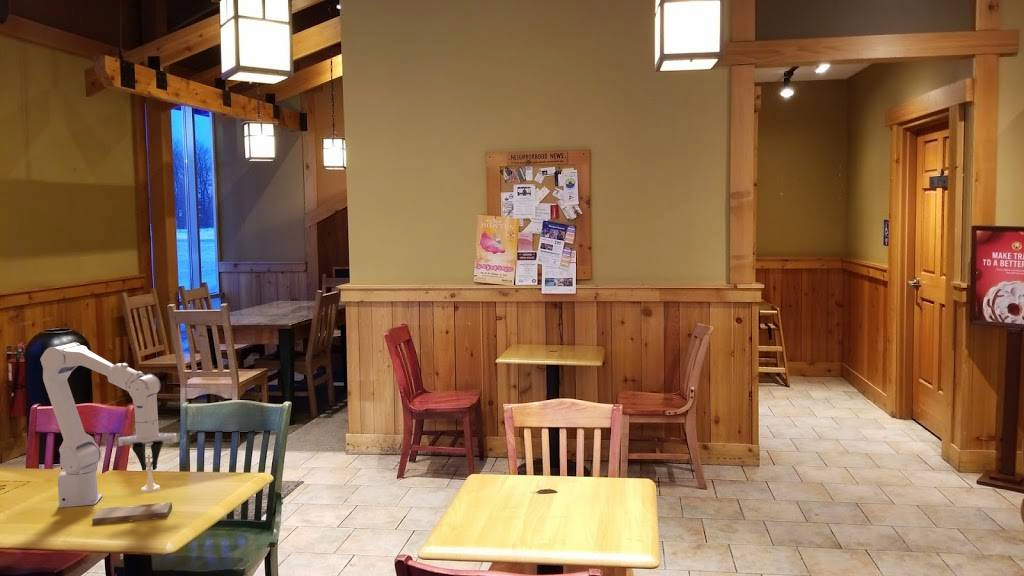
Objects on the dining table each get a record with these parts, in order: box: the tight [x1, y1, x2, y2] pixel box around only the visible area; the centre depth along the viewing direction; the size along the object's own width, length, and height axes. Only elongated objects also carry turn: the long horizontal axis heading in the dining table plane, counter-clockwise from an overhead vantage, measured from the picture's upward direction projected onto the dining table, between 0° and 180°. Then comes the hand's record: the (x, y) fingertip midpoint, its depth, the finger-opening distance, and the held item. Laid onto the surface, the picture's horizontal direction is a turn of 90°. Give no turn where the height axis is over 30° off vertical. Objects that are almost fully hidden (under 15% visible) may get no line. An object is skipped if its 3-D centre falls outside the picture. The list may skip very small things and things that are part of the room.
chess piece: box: [140, 453, 161, 494], centre depth 235 cm, size 5×5×10 cm
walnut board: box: [91, 501, 173, 525], centre depth 228 cm, size 18×8×2 cm, turn 102°
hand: (149, 469), depth 235 cm, fingers closed on chess piece
